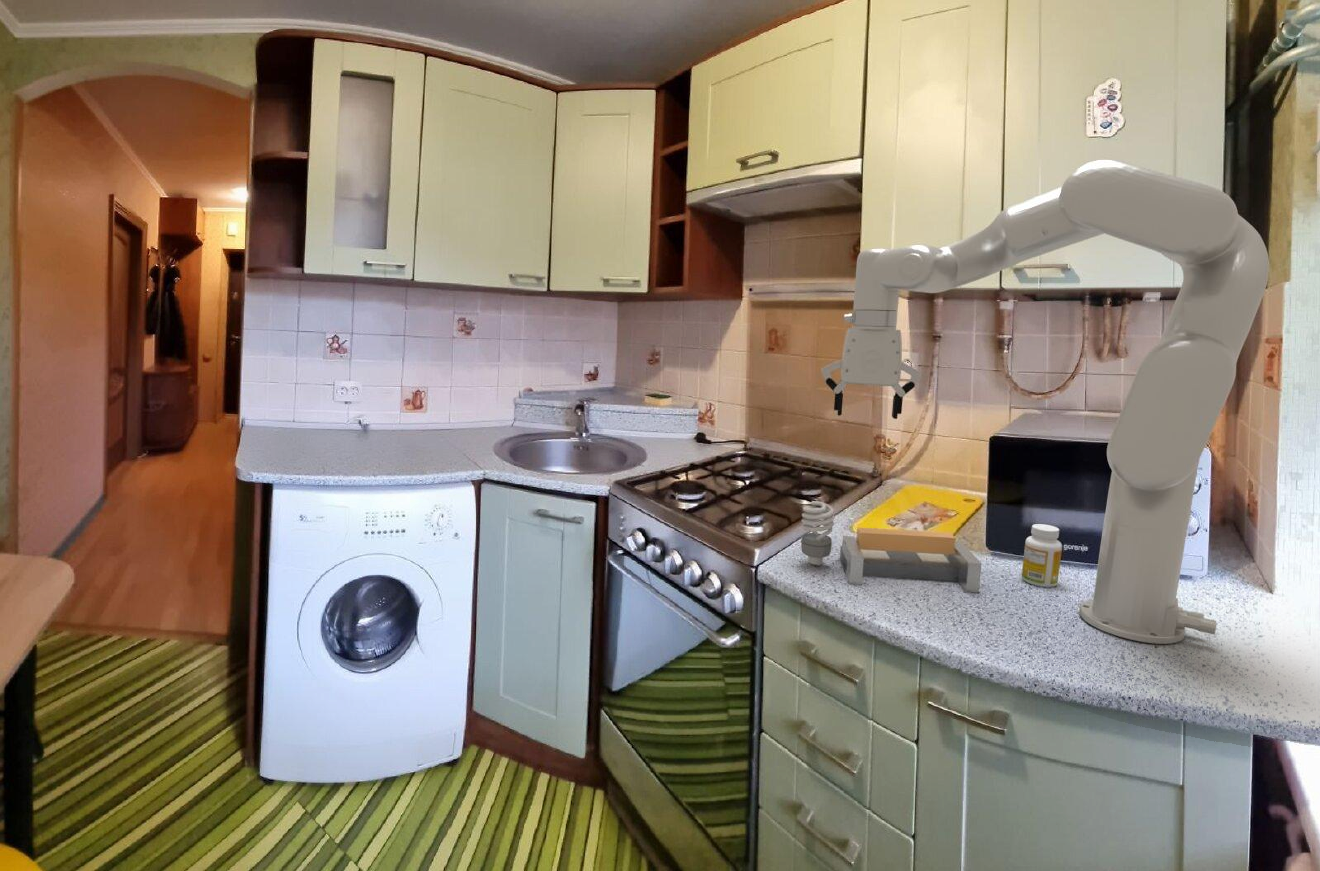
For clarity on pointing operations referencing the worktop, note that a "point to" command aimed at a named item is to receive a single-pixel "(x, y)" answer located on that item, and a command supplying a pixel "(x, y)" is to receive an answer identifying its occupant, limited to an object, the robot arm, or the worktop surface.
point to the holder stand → (911, 565)
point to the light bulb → (816, 542)
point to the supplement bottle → (1042, 556)
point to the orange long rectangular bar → (905, 540)
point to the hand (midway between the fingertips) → (866, 416)
